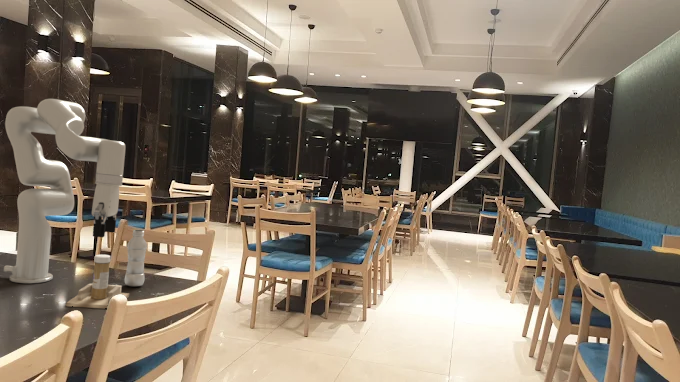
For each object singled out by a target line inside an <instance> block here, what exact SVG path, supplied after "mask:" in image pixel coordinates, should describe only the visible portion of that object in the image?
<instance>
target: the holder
mask: <svg viewBox="0 0 680 382" xmlns="http://www.w3.org/2000/svg"><path fill="white" fill-rule="evenodd" d="M92 284H93V283H88V284H86V285H84V286H83V287H82V288H80V289H79V290H78V292H77V293H78V294H77V295H76V296H75V297H73V298H71V299H69V300H68V301H67V302H66V303H65V307H70V308H71V307H72V306H73V308H88V309H89V308H92V309H105V308H107V305H108V302H109V300H110V298H111V297H113V296H114V295H117V294H123V295H125V296H126V297H127V299H128V298H129V297H130V293H129V292H128V293H127V292H122V287H123V286H122V285H119V284H108V287H107V297H106V298H104V299H93V298H91V295H92Z"/></svg>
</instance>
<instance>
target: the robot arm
mask: <svg viewBox="0 0 680 382" xmlns="http://www.w3.org/2000/svg"><path fill="white" fill-rule="evenodd" d="M5 117H6V118H5V121H4V122H5V124H4V125H5V131H6V134H7V137H8V139H9V141H10V145H11V146H12V150H13V155H14V161H15V165H16V166H15V167H16V171H17V172H16V173H17V177H18V179H19V182H20V183H21V184H23V185H24V186H28V187H29V186H30V187H49V188H28V189H25V190H23V191H21V192H20V193H19V194H18V197H17V200H16V201H17V202H16V203H17V210H18V237H17V250H16V263H15V265H14V266H13V265H5V266H3V272H4V273H11V275H10V276H9V281H10V282H13V283H19V284H40V283H45V282H49V281H51V280H53V277H54V276H53V274H52V273H50V272H49V266H50V265H49V264H50V263H49V262H50V254H51V252H50V251H51V239H52V226H51V225H50V222H49V221H48V219H47V218H46V217H49V216H52V217H53V216H65V215H68V214H71V213H72V211H73V210H74V208H75V196H74V190H73V184H72V180H71V175H70V171H69V168H68V166H67V165H66V164H65V163H63V162H62V161H60V160H54V159H46V158H45V156H44V151H43V146H42V145H41V143H40V142H39V141H38V139H37V138H36V137H35V136H34V135H33V134H32V133H38V134H44V135H45V134H46V135H47V134H48V135H54V136H55V143H56V146H57V148H58V149H59V150H60V151H61V152H62V153H63V154H64V155H66V156H67V157H68V158H70V159H73V160H75V161H84V162H95V163H96V170H95V171H96V173H95V182H94V184H96V186H95V190H94V195H93V200H92V206H91V207H92V208H91V215H92V217H93V230H92V237H96V238H104V237H105V236H106V235H105V233H115V232H116V224H117V214H118V211H119V205H120V204H119V203H120V201H119V200H120V187H122V186H123V180H124V167H125V159H126V157H125V156H126V144H125V143H124V142H122V141H119V140H118V141H117V140H110V139H106V138H99V137H92V136H86V135H85V136H83V135H81V134H82V133H83V132H84V128H85V121H86V112H85V109H84V108H83V106H82V105H80V104H79V103H77V102H73V101H67V100H62V99H57V98H45V99H43V100H41V101H40V102H39V103H38V105H37V107H31V106H15V107H12V108H11V109H9V110H8V111H7V114H6V116H5Z"/></svg>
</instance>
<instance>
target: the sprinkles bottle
mask: <svg viewBox="0 0 680 382" xmlns="http://www.w3.org/2000/svg"><path fill="white" fill-rule="evenodd" d="M93 259H94V260H93V262H94V266H93V273H92V274H93V276H92V283H91V284H92V295H91V298H93V299H104V298H106V297H107V287H108V285H109V275H110V262H111V255H109V254H95V256H94V258H93Z"/></svg>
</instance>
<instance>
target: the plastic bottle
mask: <svg viewBox="0 0 680 382" xmlns="http://www.w3.org/2000/svg"><path fill="white" fill-rule="evenodd" d="M131 235H132V237H131V238H130V239H129V241H128V243H127V266H126V272H125V274H124V284H125V285H126V286H128V287H134V288H135V287H141V286H143V285H144V282H145V278H146V277H145V259H146V252H147V249H148V243H147V241H146V239H145V238H144V236H145V230H143V229H133V231H132V234H131Z"/></svg>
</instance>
